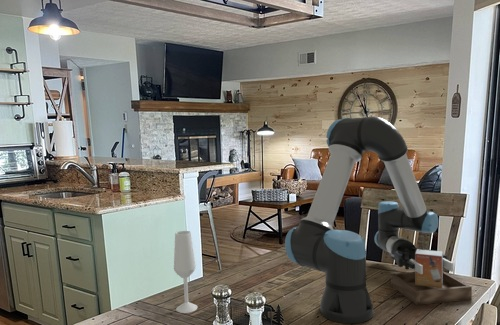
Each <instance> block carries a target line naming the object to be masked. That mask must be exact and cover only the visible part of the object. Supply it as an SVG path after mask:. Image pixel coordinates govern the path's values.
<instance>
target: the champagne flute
mask: <svg viewBox="0 0 500 325" xmlns="http://www.w3.org/2000/svg"><path fill="white" fill-rule="evenodd" d="M192 239H193V238H192V232H191V231H189V230H181V231H176V232H175V233H174V251H173V252H174V256H173V257H174V258H173V270H174V272H175V273H176V275H177V276H179V277H180V278H182V279H183V293H184V296H183V297H184V302H183V303H181V304H180V305H178V306H177V307H176V309H175V311H176V312H178V313H181V314H188V313H192V312H195V311H196V310H198V307H199V306H198V305H197V304H194V303H192V302H189V287H188V285H189V284H188V278H189V277H190V276H192V274H193V273H194V272H195V270H196V260H195V253H194V247H193V241H192Z"/></svg>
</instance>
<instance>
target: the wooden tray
mask: <svg viewBox="0 0 500 325" xmlns="http://www.w3.org/2000/svg"><path fill="white" fill-rule="evenodd" d="M390 279H391V280H390V281H391V282H390V283H391V284H390V285H391V287H392V288H394V289H395V290H397V291H398V292H399V293H401V295H403V296H404V297H406V299H408V300H409V301H411V302H412V303H414V304H415V305H416V306H420V305H421V306H422V305H430V304H441V303H450V302H462V301H470V300H472V299H473V296H472V292H473V291H472V290H473V289H472V288H473V287H472V286H471V285H469V284H467V283H466V282H463V281H462V280H461V279H458V278H457V277H455V276H453V275H452V274H449V273H448V272H445V271H444V270H443V285H442V288H435V287H429V286H422V285H415V271H410V272H400V273H398V272H397V273H391V274H390Z"/></svg>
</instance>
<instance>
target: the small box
mask: <svg viewBox="0 0 500 325" xmlns="http://www.w3.org/2000/svg"><path fill="white" fill-rule="evenodd" d="M429 250H430V249H429ZM429 250H424V249H419V248H417V250H416V253H415V260H414V261H416V262H417V263H419V264H421V265H423V274H419V273H418V272H416V271H414V272H415V285H422V286H429V287H435V288H442V285H443V271H444V267H443V254H444V252H443V251H442V250H439V251H438V250H432V251H429Z"/></svg>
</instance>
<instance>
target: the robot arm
mask: <svg viewBox="0 0 500 325" xmlns="http://www.w3.org/2000/svg"><path fill="white" fill-rule="evenodd" d="M326 138H327V139H326V144H327V146H328V148H327V149H328V152H329V153H330V156H329V157H328V161H327V163H326V166H325V169H324V171H323V174H322V177H321V179H320V182H319V184H318V186H317V190H316V192H315V195H314V197H313V199H312V202H311V206H310V208H309V210H308V212H307V216H305V217H303V218H301V219H300V220H299V224H298V226H293V227H292V228H291V229H289V230H288V232H287V234H286V236H285V239H284V240H285V241H284V249H285V251H286V255H287V258H288V259H289V260H290V261H291V262H292V263H294V264H297V265H299V266H301V267H306V268H308V269H313V270H315V271H318V272H321V273H325V287H324V289H323V290H324V291H323V293H322V297H321V298H320V299H321V300H320V304H319V306H320V310H319V311H320V313H321V315H322V316H323V317H325V318H326V319H328V320H330V321H333V322H335V323H340V324H341V323H342V324H351V325H352V324H353V325H354V324H360V323H365V322H367V321H369V320H371V319H372V318H373V317H374V305H373V302H372V299H371V296H370V293H369V291H368V288H367V250H366V241H365V239H364V238H363V236H361V235H360V234H358V233H357V232H354V231H351V230H347V229H344V230H343V229H334V228H333V224H334V222H335V219H336V217H337V213H338V212H339V207H340V205H341V203H342V200H343V197H344V193H345V192H346V189H347V185H348V183H349V181H350V178H351V175H352V172H353V168H354V167H355V163H358V162H360V161H361V160H362V157H363V155H364V153H365V152H367V153H368V152H373V153H375V154H376V155H377V157H378V159H379V161H381V162H383V163H384V165H385V168H386V172H387V173H388V176H389V178H390V180H391V183H392V185H393V188H394V190H395V193H396V195H397V197H398V200H399V202H400V205H401V207H402V208H400V206H399V203H398V202H396V201H392V200H391V201H390V200H389V201H381V202H379V203H378V205H377V206H378V207H377V208H378V209H377V210H378V211H377V214H378V215H377V216H378V219H377V220H378V222H377V223H378V231H377V232H376V233H375V235H374V243H375V244H376V246H377V247H379V248H380V249H381V250H382V251H384V252H387V253H388V254H390V256H391V257H390V258H391V259H392V260H394V261H395V263H396V264H397V266H398V267H399V268H402V267H403V266H404V270H410V269H411V270H413V272H415V271H416V272H418V273H419V274H423V265H421V264H419V263H417V262H416V261H415V253H416V250H417V249H418V247H416V246H415V244H414V243H413V242H412V241H409V240H408V239H405V238H404V237H402V236H400V230H401V229H403V230H407V231H414V232H419V233H426V234H433V233H435V232H436V231H437V229H438V227H439V217H438V214H437V213H435V212H432V211H428V209H427V206H426V204H425V201H424V198H423V194H422V193H421V189H420V188H419V184H418V182H417V179H416V177H415V174H414V171H413V169H412V166H411V164H410V161H409V158H408V155H407V153H408V150H409V149H408V145H407V143H406V141H405V139H404V138H403V136H402V134H401V132H399V130H398V129H397V128H396V127H395V126H394V125H393V124H392V123H391V122H389V121H388V120H386V119H384V118H382V117H379V116H366V117H365V116H364V117H354V118H350V117H344V118H340V119H337V120H335V121H333V122H332V123H331V125H329V127H328V129H327V132H326ZM423 250H429V251H433V249H432V250H431V249H429V248H427V247H425V248H424V249H423ZM443 269H446V270H447V271H449V272H454V262H452V261H450V260H449V259H448V255H446V254H444V253H443Z"/></svg>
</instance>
